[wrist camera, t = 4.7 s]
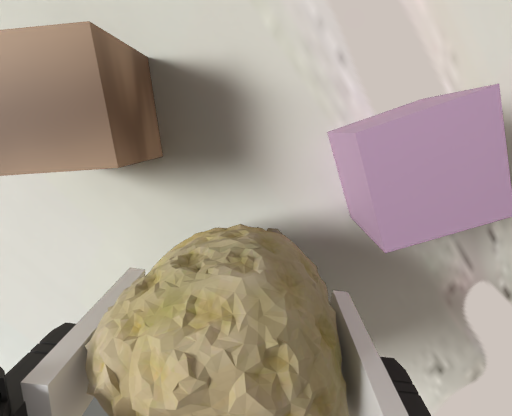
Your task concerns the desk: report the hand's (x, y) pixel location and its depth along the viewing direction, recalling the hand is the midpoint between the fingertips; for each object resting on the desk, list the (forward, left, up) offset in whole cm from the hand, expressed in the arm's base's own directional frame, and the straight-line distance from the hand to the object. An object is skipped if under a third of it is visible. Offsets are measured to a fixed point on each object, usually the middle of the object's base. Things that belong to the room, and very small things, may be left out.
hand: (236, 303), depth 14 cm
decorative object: (0, 0, -1) cm, 1 cm away
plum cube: (-8, +7, -3) cm, 11 cm away
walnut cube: (-9, -8, -3) cm, 12 cm away
